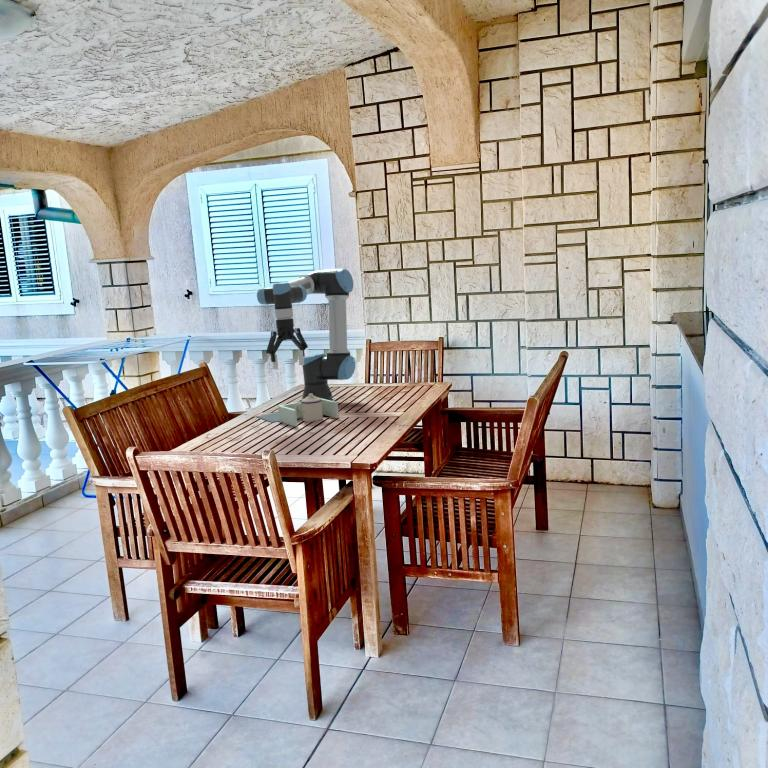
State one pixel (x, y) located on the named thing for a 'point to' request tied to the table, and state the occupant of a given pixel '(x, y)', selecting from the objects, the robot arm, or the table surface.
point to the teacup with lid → (311, 409)
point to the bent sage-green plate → (290, 414)
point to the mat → (270, 417)
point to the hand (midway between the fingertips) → (289, 367)
